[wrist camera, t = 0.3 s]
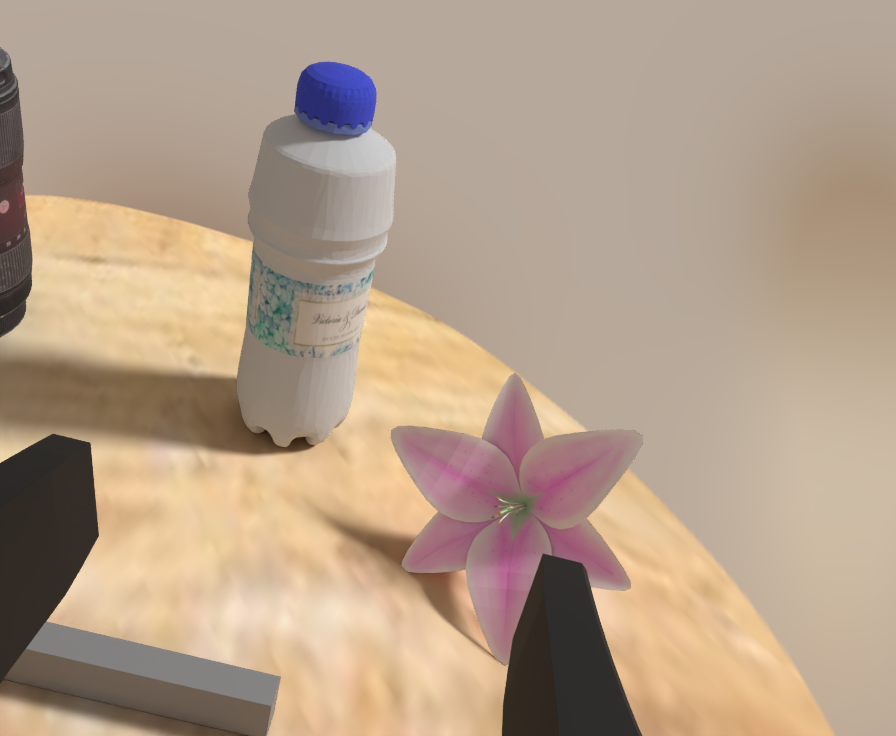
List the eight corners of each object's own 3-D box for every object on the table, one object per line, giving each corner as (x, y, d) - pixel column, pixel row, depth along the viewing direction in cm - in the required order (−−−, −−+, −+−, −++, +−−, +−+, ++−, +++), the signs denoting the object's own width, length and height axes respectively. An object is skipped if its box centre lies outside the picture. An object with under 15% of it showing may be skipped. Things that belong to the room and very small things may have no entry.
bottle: (271, 477, 41) (321, 103, 29) (207, 401, 44) (229, 38, 32) (373, 436, 45) (452, 94, 33) (307, 368, 49) (359, 36, 37)
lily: (366, 482, 44) (343, 416, 35) (556, 404, 46) (578, 323, 37) (451, 697, 39) (449, 681, 30) (660, 599, 41) (714, 558, 32)
